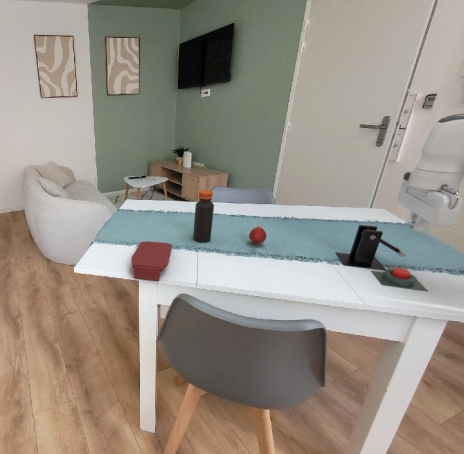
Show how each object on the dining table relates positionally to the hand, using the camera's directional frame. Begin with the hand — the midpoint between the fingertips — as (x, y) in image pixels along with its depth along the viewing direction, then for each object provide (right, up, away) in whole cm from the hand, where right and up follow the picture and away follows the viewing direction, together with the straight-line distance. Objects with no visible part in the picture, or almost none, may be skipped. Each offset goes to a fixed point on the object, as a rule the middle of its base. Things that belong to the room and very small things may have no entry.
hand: (414, 229), depth 81 cm
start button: (-1, -14, +3) cm, 14 cm away
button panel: (-1, -16, +4) cm, 17 cm away
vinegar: (-47, -4, +38) cm, 60 cm away
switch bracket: (-2, -12, +15) cm, 19 cm away
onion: (-28, -6, +31) cm, 42 cm away
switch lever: (0, -5, +11) cm, 12 cm away
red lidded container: (-69, -12, +24) cm, 74 cm away
